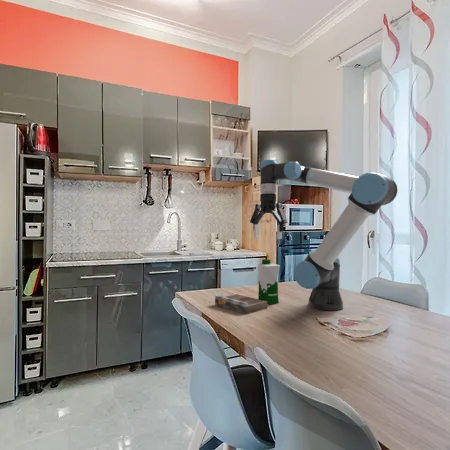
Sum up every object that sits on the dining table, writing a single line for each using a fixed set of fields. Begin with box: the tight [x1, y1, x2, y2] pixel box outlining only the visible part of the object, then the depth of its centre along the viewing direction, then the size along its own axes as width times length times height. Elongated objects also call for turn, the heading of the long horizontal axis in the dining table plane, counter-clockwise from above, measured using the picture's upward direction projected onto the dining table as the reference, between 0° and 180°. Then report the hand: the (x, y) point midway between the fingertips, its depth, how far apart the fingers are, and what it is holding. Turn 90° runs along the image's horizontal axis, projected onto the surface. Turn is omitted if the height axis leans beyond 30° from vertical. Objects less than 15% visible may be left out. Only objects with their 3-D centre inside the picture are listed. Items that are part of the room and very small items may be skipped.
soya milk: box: [257, 259, 281, 305], centre depth 156 cm, size 9×9×20 cm
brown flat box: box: [214, 294, 268, 315], centre depth 147 cm, size 19×15×4 cm
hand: (267, 238), depth 155 cm, fingers open, 13 cm apart
